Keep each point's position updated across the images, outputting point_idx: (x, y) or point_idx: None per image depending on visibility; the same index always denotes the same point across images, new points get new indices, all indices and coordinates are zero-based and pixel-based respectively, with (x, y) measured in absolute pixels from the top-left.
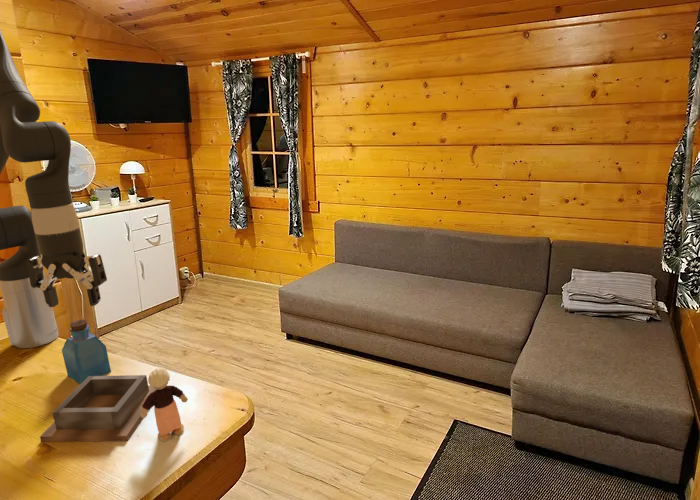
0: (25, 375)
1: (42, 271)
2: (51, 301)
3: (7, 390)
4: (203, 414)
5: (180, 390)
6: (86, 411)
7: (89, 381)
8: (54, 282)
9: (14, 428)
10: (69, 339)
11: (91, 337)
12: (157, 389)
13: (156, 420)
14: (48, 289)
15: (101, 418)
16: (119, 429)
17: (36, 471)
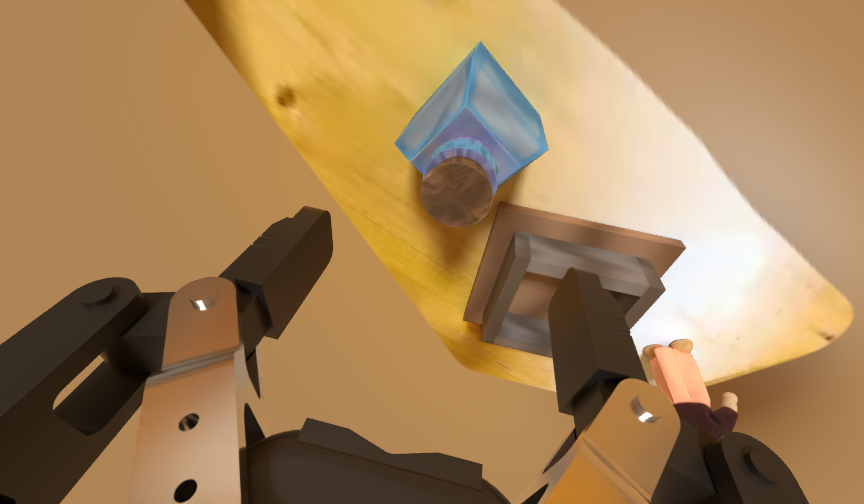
0: (292, 81)
1: (15, 403)
2: (315, 275)
3: (303, 152)
4: (741, 328)
5: (735, 421)
6: (540, 354)
7: (523, 275)
8: (239, 318)
9: (405, 276)
10: (422, 171)
11: (505, 176)
12: None
13: (658, 387)
14: (264, 331)
15: None
16: None
17: (482, 353)
